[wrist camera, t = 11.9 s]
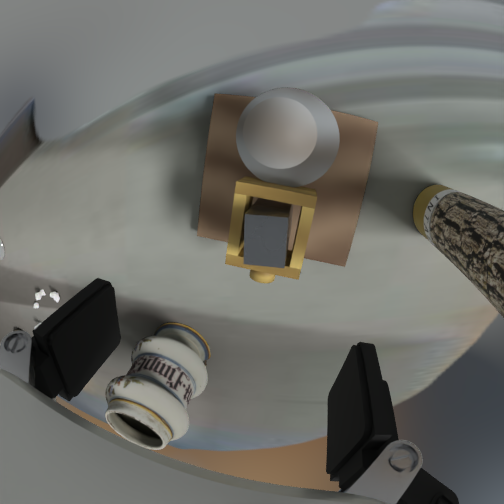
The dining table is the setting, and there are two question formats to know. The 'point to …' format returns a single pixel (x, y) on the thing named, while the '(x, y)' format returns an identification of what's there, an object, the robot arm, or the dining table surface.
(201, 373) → the apothecary jar
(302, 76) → the dining table surface
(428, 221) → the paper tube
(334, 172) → the board
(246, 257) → the grey rectangular bar
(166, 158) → the dining table surface
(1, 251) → the wineglass
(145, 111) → the dining table surface
